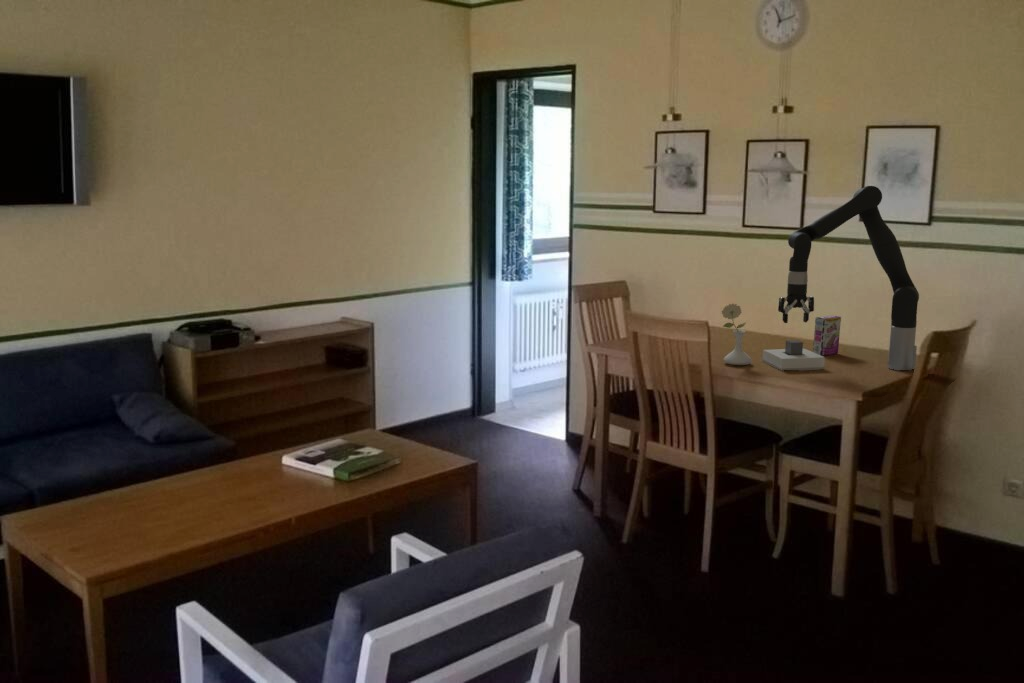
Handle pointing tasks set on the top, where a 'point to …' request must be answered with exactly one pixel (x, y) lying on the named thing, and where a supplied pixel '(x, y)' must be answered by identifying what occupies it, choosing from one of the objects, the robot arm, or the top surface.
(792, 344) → the plug
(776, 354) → the socket
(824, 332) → the candy bar box
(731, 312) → the flower in vase
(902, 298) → the robot arm
